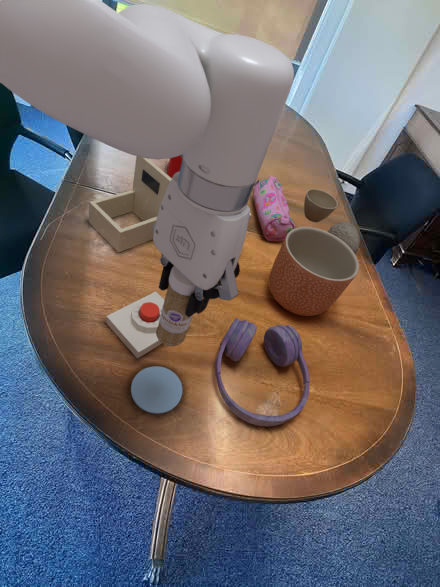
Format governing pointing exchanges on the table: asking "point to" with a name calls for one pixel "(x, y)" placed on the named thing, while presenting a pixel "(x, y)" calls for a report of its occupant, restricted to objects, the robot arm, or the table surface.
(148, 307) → the release button
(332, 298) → the planter
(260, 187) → the pencil case
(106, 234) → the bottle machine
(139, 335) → the button block
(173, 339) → the sprinkles bottle
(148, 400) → the coaster
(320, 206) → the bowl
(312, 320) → the table surface
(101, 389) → the table surface
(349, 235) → the decorative stone
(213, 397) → the table surface
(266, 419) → the headphones
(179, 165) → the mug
